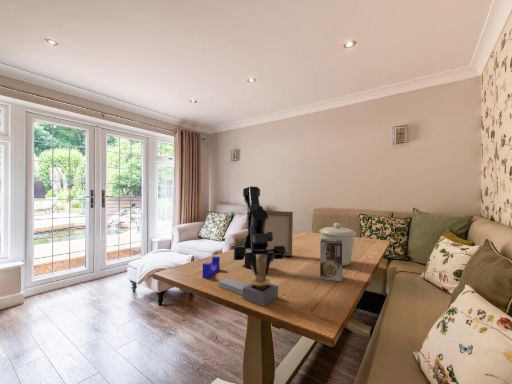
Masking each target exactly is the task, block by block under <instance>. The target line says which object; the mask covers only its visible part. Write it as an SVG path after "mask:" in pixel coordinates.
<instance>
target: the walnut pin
mask: <svg viewBox="0 0 512 384" xmlns="http://www.w3.org/2000/svg"><path fill="white" fill-rule="evenodd" d="M266 257H267V256H266V254H256V275H255V276H254V277H252V278H251V283H252V284H254V285H256V289H257V290H260V291H264V290H266V285H268V284H269V283H270V284H271V278H269V277H268V276H267V275H266Z"/></svg>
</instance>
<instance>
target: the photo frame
mask: <svg viewBox="0 0 512 384" xmlns="http://www.w3.org/2000/svg"><path fill="white" fill-rule="evenodd" d="M265 211H266V212H267V214H268V215H267V216H268V219H267V221H266V226H265V228H264V230H265V233H266V234H267V232H272V234H273V240H272V242H268V247H267V249H273V248H274V246H279V245H283V246H284V247H285V250H286V252H285V255H284V257H285V256H286V257H287V256H288V257H293V228H294V227H293V226H294V225H293V223H294V222H293V218H294V216H293V215H294V211H281V210H280V211H279V210H277V211H276V210H271V211H270V210H265Z"/></svg>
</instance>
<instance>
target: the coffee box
mask: <svg viewBox="0 0 512 384" xmlns="http://www.w3.org/2000/svg"><path fill="white" fill-rule="evenodd" d="M319 244H320V245H319V247H320V248H319V253H320V255H319V259H320V261H319V262H320V263H319V264H320V265H319V279H320V280H326V281H335V282H336V281H337V282H342V281H343V266H342V240H329V239H321V238H320V243H319Z"/></svg>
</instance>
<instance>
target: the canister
mask: <svg viewBox="0 0 512 384" xmlns="http://www.w3.org/2000/svg"><path fill="white" fill-rule="evenodd" d="M318 232H319V234H320V240H321V239H329V240H342V267H345V266H348V265H350V263H351V261H352V258H353V257H352V255H353V252H354V251H353V249H354V242H355V237H356V235H357V232H356V231H354V230H352V229H351V228H347V227H342V224H341V223H340V222H334V223H333V226H327V227H322V228H321V229H319V230H318Z"/></svg>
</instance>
